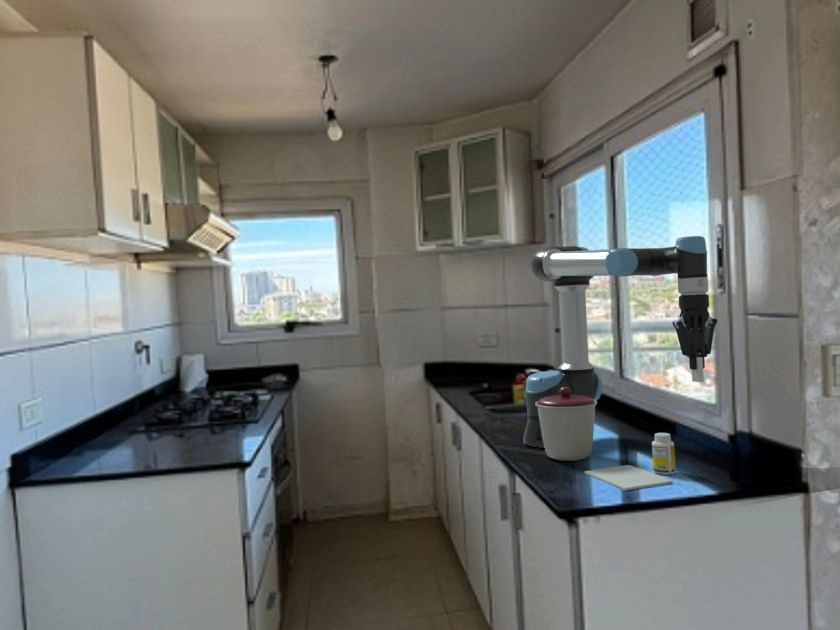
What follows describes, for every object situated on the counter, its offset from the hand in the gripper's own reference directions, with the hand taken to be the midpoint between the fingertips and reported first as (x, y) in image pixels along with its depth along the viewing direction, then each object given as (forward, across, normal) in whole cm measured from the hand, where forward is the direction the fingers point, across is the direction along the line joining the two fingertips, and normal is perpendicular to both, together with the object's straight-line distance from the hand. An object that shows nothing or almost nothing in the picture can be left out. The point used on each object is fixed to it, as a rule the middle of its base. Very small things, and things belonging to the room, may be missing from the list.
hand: (697, 381), depth 174 cm
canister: (+23, -25, +27) cm, 44 cm away
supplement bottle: (+23, -12, 0) cm, 26 cm away
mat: (+23, -23, 0) cm, 33 cm away
